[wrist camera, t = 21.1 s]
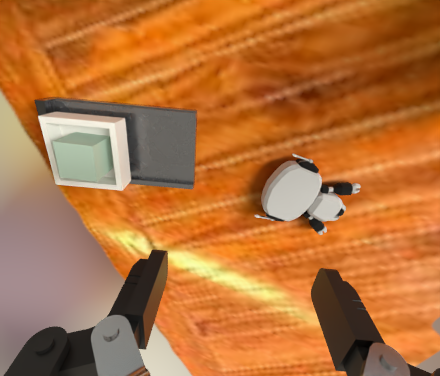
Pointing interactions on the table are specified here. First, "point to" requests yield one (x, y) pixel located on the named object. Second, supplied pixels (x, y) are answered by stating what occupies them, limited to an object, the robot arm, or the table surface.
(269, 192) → the robot toy
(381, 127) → the table surface
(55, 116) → the white square tray
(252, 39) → the table surface
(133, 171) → the track
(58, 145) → the block
